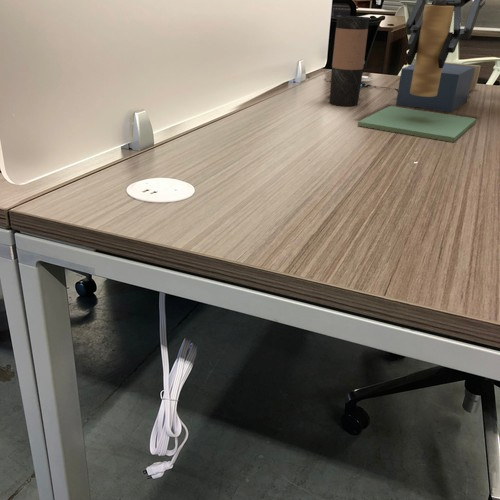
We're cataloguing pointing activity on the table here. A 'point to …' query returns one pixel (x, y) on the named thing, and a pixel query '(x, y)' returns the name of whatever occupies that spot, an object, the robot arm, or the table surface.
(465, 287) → the table surface
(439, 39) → the pepper mill
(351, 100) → the travel mug
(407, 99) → the cabinet
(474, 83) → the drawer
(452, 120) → the mat
